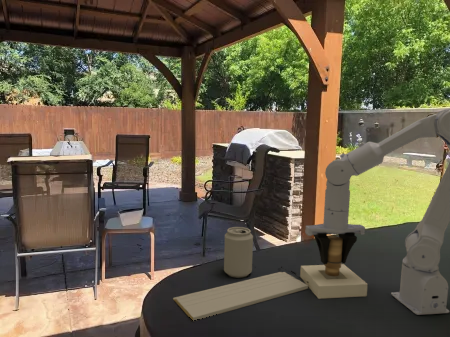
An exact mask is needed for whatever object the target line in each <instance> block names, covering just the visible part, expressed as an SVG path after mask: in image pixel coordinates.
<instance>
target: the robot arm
mask: <svg viewBox="0 0 450 337" xmlns="http://www.w3.org/2000/svg"><path fill="white" fill-rule="evenodd" d="M437 136H438V137H439V138H440V139H441V140H442V141H443V142H445V145H446V146H447V148H448V150H449V151H450V108H448V109H443V110H441V111H439V112H437V113H435V114H432V115H429V116H426V117H423V118H420V119H418V120H416V121H414V122H412V123H411V124H408V125H407V126H405V127H403V128H402V129H400V130H399V131H397V132H394V133H393V134H391V135H390V136H388V137H386V138H385V139H382V140H381V141H379V142H374V141H368V142H365V141H362V142H360V143H358V147H357V148H354V149H353V150H351V151H349V152H347V153H341V154H340V155H339V157H340V158H337V159H335V160H332V161H331V162H330V163H328V165H327V166H326V168H325V172H324V173H325V175H324V176H325V178H326V183H325V185H326V188H325V191H324V193H325V194H324V209H323V223H319V224H313V225H305V231H304V232H305V235H306V236H313V238H314V239H315V243H316V245H317V247H318V252H319V256H320V262H321V264H322V263H323V264H322V265H324V264H327V261H328V249H329V244H330V241H331V240H330V239H329V238H328V236H329V235H338V237H340V238H342V239H343V243H342V259H341V260H342V262H341V264H344V265H345V264H346V262H347V259H348V257H349V253H350V252H351V250H352V248H353V247H354V246H355V243H356V242H357V241H358V236H356V235H355V234H359V235H365V231H366V230H365V229H366V227H365V225H362V224H351V223H350V224H349V217H350V216H349V213H350V198H351V191H350V186H351V185H350V183H351V178H352V177H353V176H356V177H357V176H360V175H362V174H364V173H365V172H367V171H369V170H372V169H373V168H375V167H378V166H379V165H381V164H382V163H383V162H384V158H385V155H387V154H389V153H392V152H393V151H395V150H397V149H400V148H401V147H402V148H403V147H404V146H406V145H408V144H410V143H412V142H414V141H416V140H418V139H422V138H437ZM449 224H450V161H449V163H448V164H447V167H446V169H445V170H444V172H443V175H442V177H441V179H440V181H439V184H438V185H437V187H436V189H435V192H434V194H433V196H432V198H431V201H430V202H429V205H428V206H427V207H426V211H425V213H424V215H423V217H422V219H421V220H420V221H419V222H418V223H417V225H416V227H415V229H414V230H412V232H410V233H409V234H408V235H407V236H406V237H405V241H404V247H405V249H406V255H405V257H403V259H402V262H401V263H402V264H401V273H400V275H401V276H400V286H399V287H400V288H399V291H394V292H391V293H390V295H391V296H392V297H394V298H395V299H396V300H397V301H398V302H399V303H401V304H402V305H404V306H405V307H406V308H408V310H410V311H411V312H412V313H413V314H415V315H419V316H420V315H436V314H449V313H450V310H449V309H448V308H447V303H448V294H449V283H448V281H447V279H446V278H445V277H444V276H443V275H442V274H441V273H440V271H439V270H440V269H439V264H440V261H441V253H440V252H441V247H443V246H442V245H443V243H444V238H445V233H446V232H445V231H446V229H447V228H448V226H449Z"/></svg>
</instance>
